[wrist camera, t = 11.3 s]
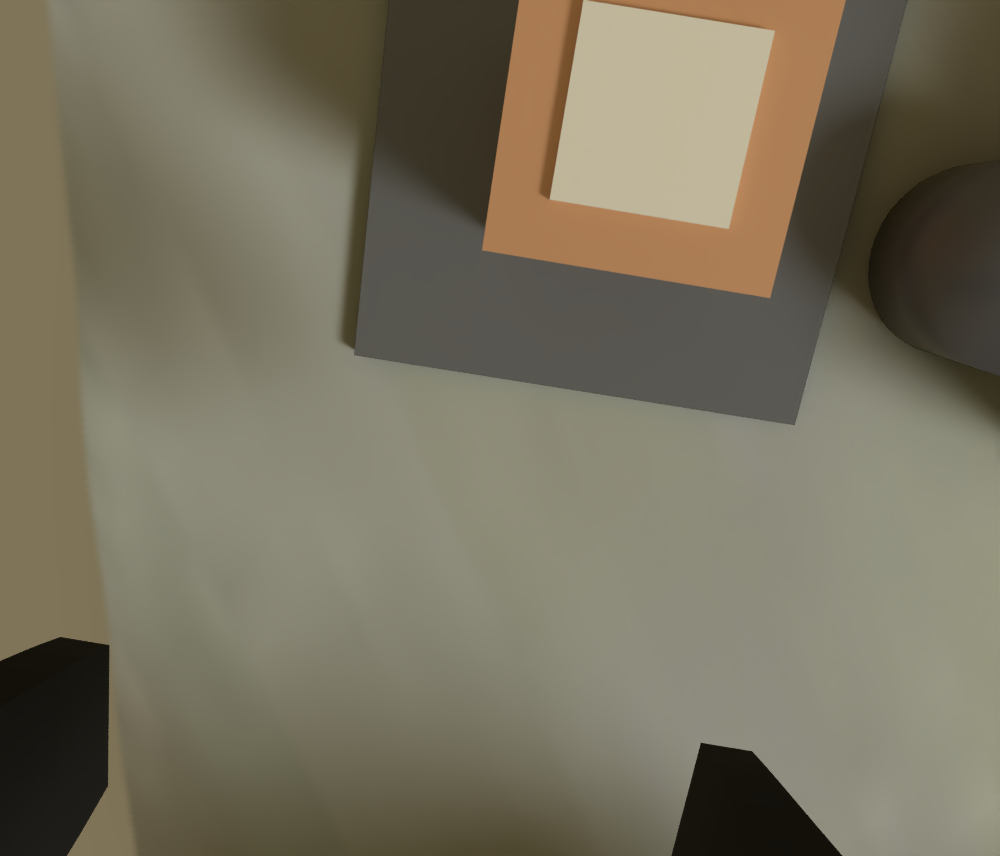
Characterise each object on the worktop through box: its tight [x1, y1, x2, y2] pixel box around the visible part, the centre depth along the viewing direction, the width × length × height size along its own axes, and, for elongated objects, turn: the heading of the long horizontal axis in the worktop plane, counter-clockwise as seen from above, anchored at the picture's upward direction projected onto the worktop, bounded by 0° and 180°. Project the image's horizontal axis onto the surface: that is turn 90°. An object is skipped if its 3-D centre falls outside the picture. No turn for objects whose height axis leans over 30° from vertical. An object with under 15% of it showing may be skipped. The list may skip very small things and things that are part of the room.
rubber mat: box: [354, 0, 907, 425], centre depth 16 cm, size 10×10×1 cm
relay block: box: [482, 0, 846, 298], centre depth 13 cm, size 4×4×6 cm
